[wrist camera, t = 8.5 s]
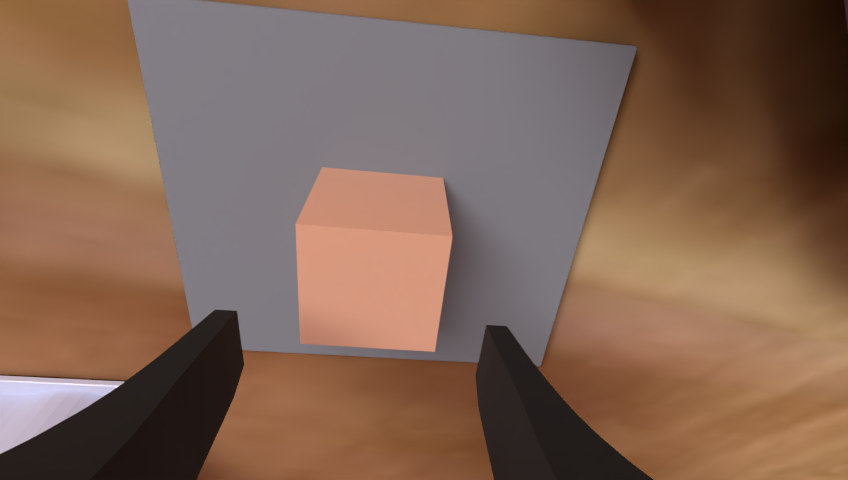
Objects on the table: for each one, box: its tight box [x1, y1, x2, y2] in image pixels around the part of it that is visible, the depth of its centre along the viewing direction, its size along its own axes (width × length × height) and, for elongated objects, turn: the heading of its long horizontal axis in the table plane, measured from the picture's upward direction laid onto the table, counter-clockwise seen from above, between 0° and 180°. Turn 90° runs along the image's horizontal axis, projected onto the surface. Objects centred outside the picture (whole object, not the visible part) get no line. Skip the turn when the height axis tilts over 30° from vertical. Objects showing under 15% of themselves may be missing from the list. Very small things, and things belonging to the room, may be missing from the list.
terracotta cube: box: [295, 167, 453, 352], centre depth 18 cm, size 5×5×5 cm
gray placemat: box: [128, 0, 637, 366], centre depth 20 cm, size 18×16×1 cm
